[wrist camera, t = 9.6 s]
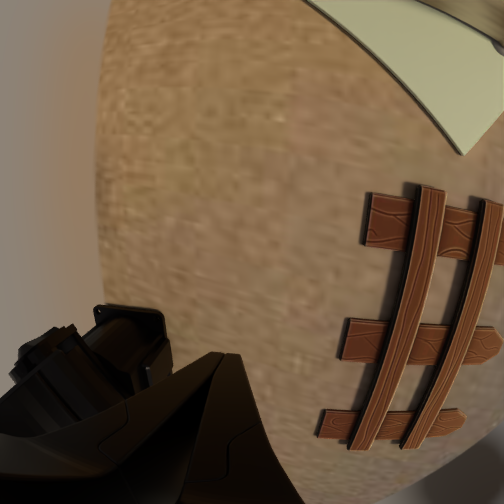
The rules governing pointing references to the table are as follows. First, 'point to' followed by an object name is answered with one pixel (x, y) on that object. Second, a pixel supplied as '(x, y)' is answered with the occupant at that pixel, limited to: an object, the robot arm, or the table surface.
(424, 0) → the hinged fence panel
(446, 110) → the card
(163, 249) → the table surface
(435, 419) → the decorative fence
